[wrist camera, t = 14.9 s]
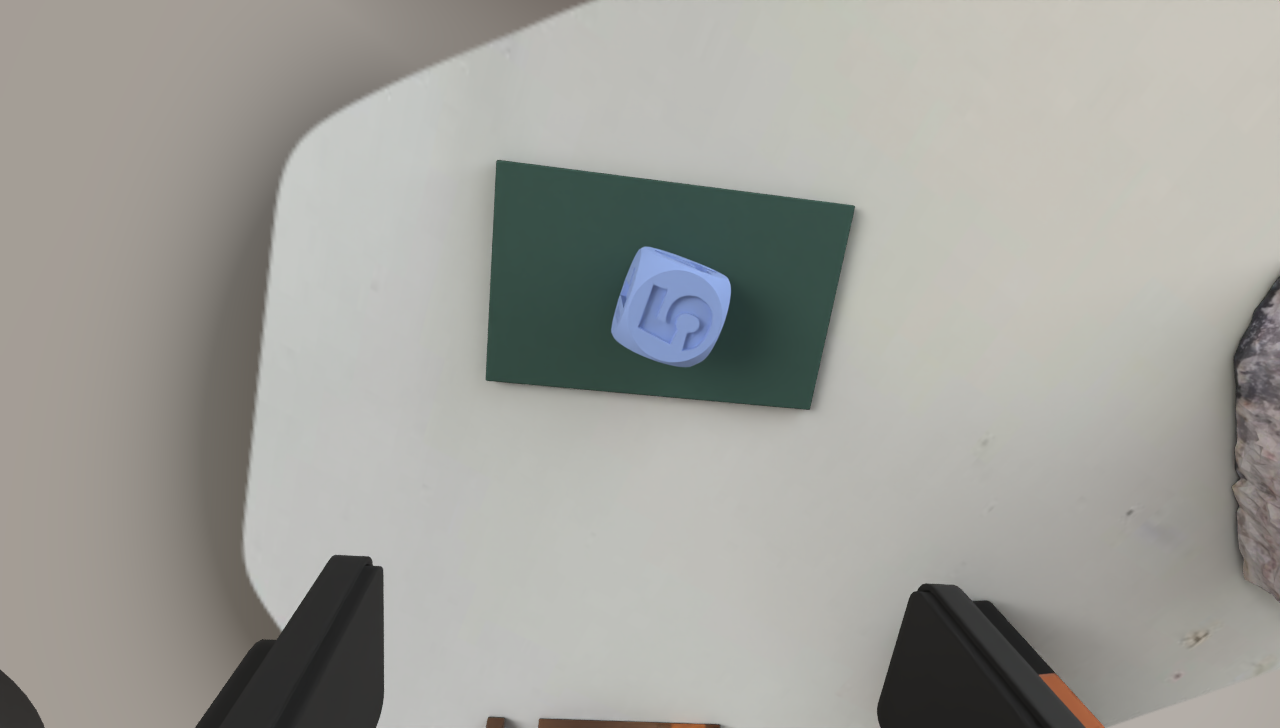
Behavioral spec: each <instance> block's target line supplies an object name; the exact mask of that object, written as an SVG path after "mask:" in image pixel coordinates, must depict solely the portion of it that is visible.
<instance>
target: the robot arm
mask: <svg viewBox="0 0 1280 728" xmlns="http://www.w3.org/2000/svg"><path fill="white" fill-rule="evenodd" d="M383 698H384V604H383V568H382V567H381V566H373V564H372V559H371V558H370V557H366V556H346V555H334V556H332V557H331V559H330V560H329V561H328V563H327V564H326V566H325V567H324V569H323V570H322V572H321V573H320V575H319V576H318V578H317V579H316V581H315V582H314V584H313V586H312V587H311V589H310V590H309V592H308V593H307V595H306V596H305V598H304V599H303V601H302V602H301V604H300V605H299V607H298V608H297V610H296V611H295V613H294V614H293V616H292V617H291V619H290V620H289V622H288V624H287V625H286V627H285V628H284V630H283V631H282V633H281V634H280V636H279V637H278V639H277V640H263V639H262V640H260V641H259V642H257V643H256V644H255V645H254V646H253V647H252V648H251V649H250V650H249V651H248V653H247V655H246V656H245V657H244V659H243V660H242V662H241V663H240V664H239V666H238V667H237V669H236V670H235V671H234V673H233V674H232V676H231V677H230V679H229V680H228V681H227V683H226V684H225V686H224V687H223V689H222V690H221V691H220V693H219V695H218V696H217V697H216V699H215V700H214V701H213V703H212V704H211V706H210V708H209V709H208V710H207V712H206V713H205V714H204V716H203V717H202V719H201V720H200V721H199V723H198V724H197V726H196V728H376V726H377V723H378V721H379V717H380V714H381V710H382V705H383ZM877 715H878V721H879V725H880V727H881V728H1086V727H1085V726H1084V725H1083V724H1082V723H1081V722H1080V721H1079V719H1078V718H1077V717H1076V716H1075V715H1074V714H1073V713H1072V712H1071V711H1070V709H1069V708H1068V707H1067V706H1066V705H1065V704H1064V703H1063V702H1062V701H1061V699H1060V698H1059V697H1058V696H1057V695H1056V694H1055V693H1054V692H1053V691H1052V689H1051V688H1050V687H1049V686H1048V685H1047V684H1046V683H1045V682H1044V681H1043V679H1042V678H1041V677H1040V676H1039V675H1038V674H1037V673H1036V672H1035V671H1034V669H1033V668H1032V667H1031V666H1030V665H1029V664H1028V663H1027V662H1026V661H1025V660H1024V658H1023V657H1022V656H1021V655H1020V654H1019V653H1018V652H1017V651H1016V650H1015V648H1014V647H1013V646H1012V645H1011V644H1010V643H1009V642H1008V641H1007V640H1006V638H1005V637H1004V636H1003V635H1002V634H1001V633H1000V632H999V631H998V630H997V628H996V627H995V626H994V625H993V624H992V623H991V622H990V621H989V620H988V618H987V617H986V616H985V615H984V614H983V613H982V612H981V611H980V610H979V608H978V607H977V606H976V605H975V604H974V603H973V602H972V601H971V600H970V598H969V597H968V596H967V595H966V594H965V593H964V592H963V591H962V590H961V589H960V588H959V587H958V586H955V585H944V584H923V585H921V586H920V587H919V589H918V591H916V592H913V593H912V594H911V596H910V598H909V601H908V604H907V608H906V611H905V614H904V618H903V621H902V624H901V628H900V631H899V635H898V638H897V641H896V645H895V648H894V652H893V655H892V658H891V662H890V665H889V668H888V672H887V675H886V679H885V682H884V685H883V689H882V692H881V695H880V699H879V702H878V707H877Z"/></svg>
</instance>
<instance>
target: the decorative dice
mask: <svg viewBox="0 0 1280 728" xmlns="http://www.w3.org/2000/svg"><path fill="white" fill-rule="evenodd" d="M730 296H731V285H730V282H729V280H728V278H727V277H726V276H725V275H723V274H721V273H719V272H717V271H715V270H713V269H711V268H708V267H706V266H704V265H701V264H699V263H696V262H694V261H691V260H689V259H686V258H683V257H681V256H678V255H675V254H672V253H669V252H666V251H663V250H659V249H656V248H652V247H643V248H641V249H639V250H638V252H637V253H636V255H635V257H634V259H633V261H632V264H631V266H630V268H629V271H628V273H627V276H626V279H625V281H624V284H623V287H622V290H621V293H620V296H619V299H618V303H617V306H616V310H615V313H614V317H613V322H612V328H611V333H612V335H613V337H614V338H615V340H616V341H617V342H619V343H620V344H621V345H623V346H624V347H626V348H628V349H629V350H631V351H633V352H635V353H637V354H639V355H642V356H644V357H646V358H649V359H652V360H654V361H657V362H660V363H664V364H668V365H672V366H677V367H691V366H693V365H695V364H698V363H700V362H702V361H703V360H704V359H705V358H706V357H707V356H708V355H709V353H710V352H711V350H712V349H713V347H714V345H715V343H716V341H717V339H718V337H719V335H720V332H721V330H722V327H723V325H724V322H725V319H726V315H727V312H728V308H729V303H730Z"/></svg>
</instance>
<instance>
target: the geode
mask: <svg viewBox="0 0 1280 728" xmlns="http://www.w3.org/2000/svg"><path fill="white" fill-rule="evenodd" d="M1234 364H1235V378H1236V390H1237V393H1236V420H1237V444H1236V447H1235V469H1236V471H1237V473H1238V475H1239V476H1240V478H1241V479H1240V480H1239V481H1238V482H1236V483H1235V484H1234V485H1233V486H1232V489H1233V492H1234V494H1235V497H1236V499H1237V502H1238V504H1239V506H1240V507H1239V508H1238V510H1237V512H1236V515H1237V521H1238V542H1239V550H1240V552H1241V554H1242V556H1243V558H1244V563H1243V574H1244V578H1245V580H1247V581H1249V582H1251V583H1254V584H1256V585H1258V586H1259V587H1261V588H1263V589H1264V590H1266V591H1267V592H1269V593H1271V594H1272V595H1273V596H1274V597H1275V598H1276V599H1277V600H1278V601H1279V602H1280V277H1279V278H1278V279H1277V281H1276V282H1275V283H1274V285H1273V286H1272V288H1271V289H1270V291H1269V293H1268V294H1267V296H1266V297H1265V298H1264V300H1263V301H1262V302H1261V303H1260V305H1259V306H1258V307H1257V308H1256V310H1255V311H1254V314H1253V318H1252V321H1251V324H1250V326H1249V327H1248V329H1247V331H1246V332H1245V334H1244V335H1243V337H1242V339H1241V341H1240V343H1239V346H1238V349H1237V351H1236V354H1235V357H1234Z"/></svg>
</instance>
